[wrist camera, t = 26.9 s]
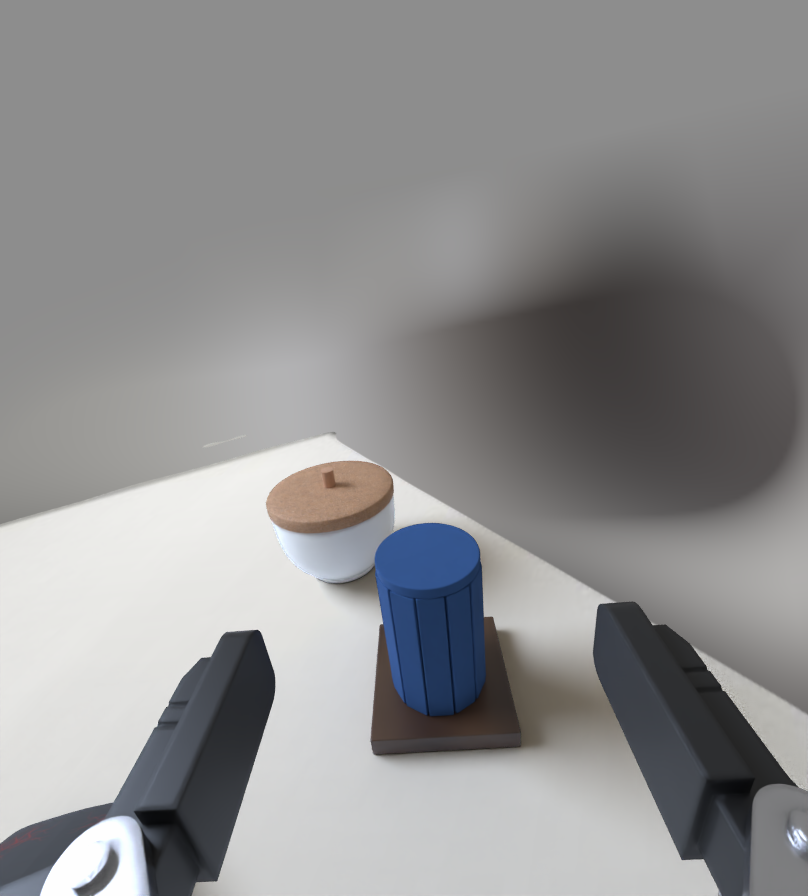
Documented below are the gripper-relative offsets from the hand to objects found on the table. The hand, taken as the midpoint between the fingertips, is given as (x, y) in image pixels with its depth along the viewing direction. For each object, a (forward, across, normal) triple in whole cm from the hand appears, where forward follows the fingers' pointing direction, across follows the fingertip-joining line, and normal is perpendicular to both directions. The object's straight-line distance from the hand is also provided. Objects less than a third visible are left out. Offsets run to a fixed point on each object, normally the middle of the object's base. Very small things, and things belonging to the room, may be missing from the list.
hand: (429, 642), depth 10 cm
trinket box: (+24, -8, -16) cm, 30 cm away
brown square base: (+11, 0, -16) cm, 19 cm away
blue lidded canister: (+11, 0, -15) cm, 18 cm away
